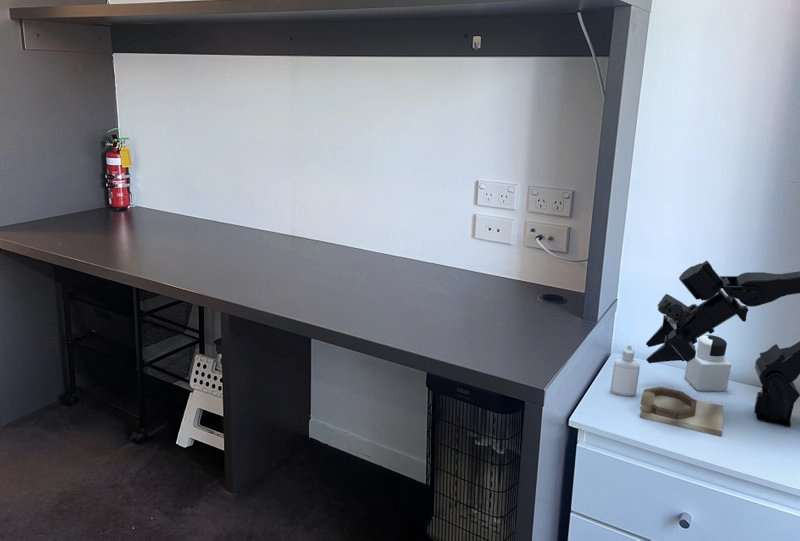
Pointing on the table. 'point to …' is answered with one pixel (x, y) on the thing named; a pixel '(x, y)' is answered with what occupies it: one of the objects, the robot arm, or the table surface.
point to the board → (695, 423)
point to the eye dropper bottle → (625, 374)
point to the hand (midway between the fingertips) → (647, 353)
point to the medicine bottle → (709, 365)
